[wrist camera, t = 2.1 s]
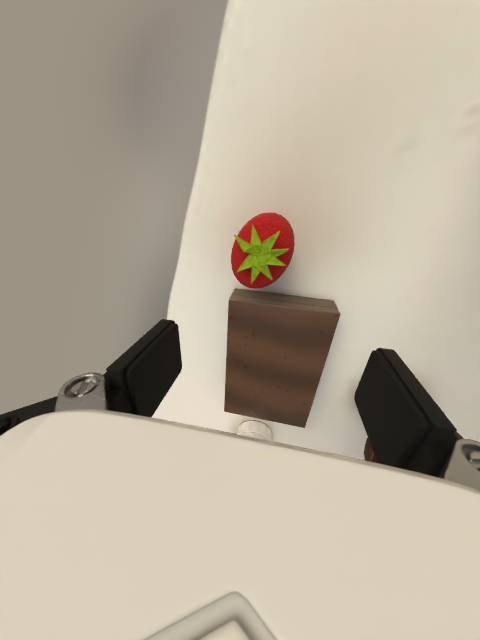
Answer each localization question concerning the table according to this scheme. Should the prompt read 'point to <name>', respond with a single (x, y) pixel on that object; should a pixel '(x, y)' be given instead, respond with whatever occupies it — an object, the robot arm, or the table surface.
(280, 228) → the strawberry
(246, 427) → the white cup
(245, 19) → the table surface
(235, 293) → the panel
